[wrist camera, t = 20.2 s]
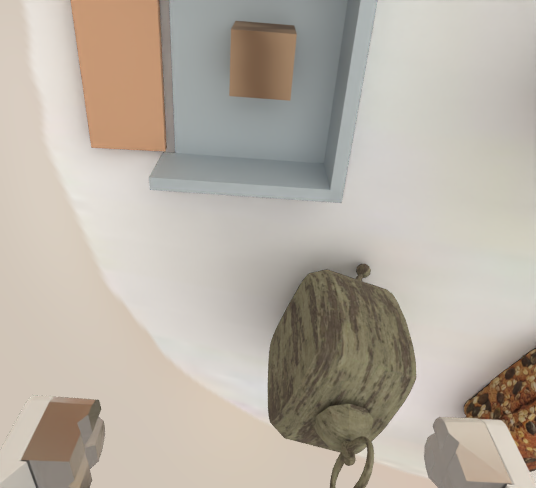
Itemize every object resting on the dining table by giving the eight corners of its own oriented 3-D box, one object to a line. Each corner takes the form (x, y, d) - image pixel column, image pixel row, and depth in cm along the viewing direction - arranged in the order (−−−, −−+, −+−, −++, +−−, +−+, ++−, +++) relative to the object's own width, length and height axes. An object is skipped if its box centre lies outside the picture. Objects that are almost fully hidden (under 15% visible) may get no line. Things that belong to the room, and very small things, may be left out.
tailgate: (152, -89, 35) (56, -97, 34) (165, 151, 45) (91, 147, 44) (155, -88, 36) (63, -96, 35) (167, 146, 46) (95, 142, 45)
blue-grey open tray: (374, -92, 36) (395, -100, 30) (332, 170, 48) (341, 203, 41) (152, -112, 35) (126, -125, 29) (165, 158, 47) (149, 189, 41)
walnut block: (294, 25, 39) (296, 34, 35) (288, 85, 42) (290, 100, 38) (235, 20, 39) (230, 29, 35) (233, 81, 42) (229, 96, 37)
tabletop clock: (329, 342, 61) (358, 550, 40) (265, 322, 59) (261, 529, 38) (383, 258, 53) (455, 459, 32) (312, 233, 52) (339, 427, 31)
